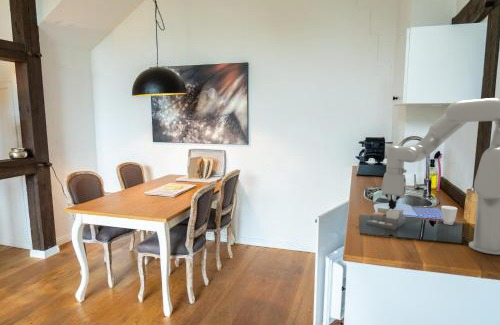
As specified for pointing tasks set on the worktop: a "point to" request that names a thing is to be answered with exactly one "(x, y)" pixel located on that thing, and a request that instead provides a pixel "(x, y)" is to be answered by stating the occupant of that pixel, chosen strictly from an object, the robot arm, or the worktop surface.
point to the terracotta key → (379, 214)
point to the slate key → (398, 211)
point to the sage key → (383, 209)
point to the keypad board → (386, 222)
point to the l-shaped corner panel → (379, 196)
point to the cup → (448, 214)
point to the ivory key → (392, 214)
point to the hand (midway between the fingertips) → (392, 208)
